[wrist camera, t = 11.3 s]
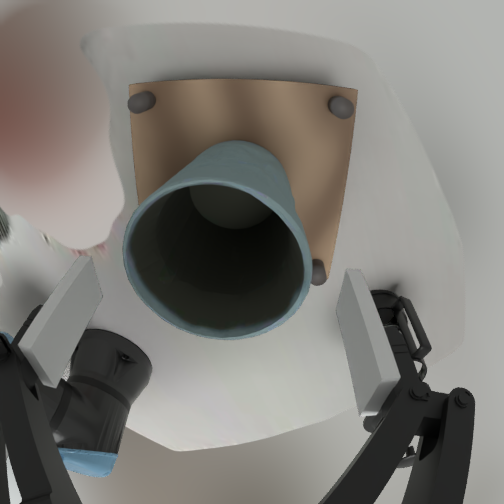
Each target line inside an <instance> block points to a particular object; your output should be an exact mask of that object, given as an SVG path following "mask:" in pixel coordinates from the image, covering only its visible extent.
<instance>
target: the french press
mask: <svg viewBox="0 0 504 504" xmlns="http://www.w3.org/2000/svg"><path fill="white" fill-rule="evenodd" d="M370 293H371V296H372V298H373V301H374V303H375V306H376V309H377V310H378V309H384V308H389V309H392V311H393V313H394V316H393V318H392V320H391V321H390V322H389V323H388V324H384V325H383V327H396V328H397V330H398V331H399V332H400V333H401V334H402V335H403V338H404V340H405V343H406V346H407V348H408V350H409V353H410V356H411V358H412V361H413V364H414V361H418V362H421V363H422V368H421V370H420V372H419V373H417V375H418V377H419V380H420V381H423V379H424V378H425V376H426V373H427V367H426V364H425V362H424V359H423V358H424V357H425V356H426V355H427V354H428V353H429V352H430V351H431V349H432V348H431V345H430V343H429V340H428V338H427V336H426V333H425V331H424V329H423V327H422V324H421V322H420V320H419V318H418V316H417V313H416V311H415V309H414V307H413V305H412V303H411V301H410V300H409V299H407V298H404V297H402V296H400V297H398V296H397V295H396V294H394V293H392V292H390V291H386V290H374V291H370ZM403 308H405V311H406V313H407V315H408V317H409V320H410V322H411V324H412V327H413V329H414V331H415V334H416V336H417V339H418V341H419V344H420V347H419V348H418V349H417V348H416V345H415V342H414V340H413V337H412V334H411V332H410V330H409V328H408V325H407V323H408V321H407V317H406V315H405V312H404V310H403ZM414 366H415V364H414ZM415 369H416V367H415ZM416 372H417V370H416ZM424 383H425V382H424ZM425 384H427V383H425ZM427 385H428V384H427ZM428 386H429V385H428ZM429 388H430V387H429ZM382 417H383V414H382V410H381V409H380V410H379V412H378V413H377V415H373V416H366V418H365V419H364V421H363V426H364V429H365V430H366V431H368V432H371V433H372V432H373V431H374V429H375V428H376V427H375V426H376V425H377V424H378V422H379V421H380V420H381V418H382ZM415 455H416V453H415V451H414V448H413V446H410V445H409V447H408V448H407V450H406V457H404V458H402V459H401V461H400V463H399V464H398V466H397V468H405V467H410V466H413V463H414V459H415Z"/></svg>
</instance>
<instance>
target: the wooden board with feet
mask: <svg viewBox="0 0 504 504" xmlns="http://www.w3.org/2000/svg"><path fill="white" fill-rule="evenodd" d="M357 94H358V90H356V89H351V88H345V87H338V86H330V85H322V84H313V83H303V82H292V81H278V80H259V79H189V80H170V81H157V82H145V83H136V84H130V85H129V100H128V108H129V110H130V118H131V133H132V146H133V157H134V168H135V177H136V186H137V195H138V203H139V205H140V204H141V203H142V202H143V201H144V200H145V199H146V198H148V197H149V196H150V195H151V194H153V193H154V192H155V191H156V190H158V189H159V188H160V187H161V186H163V185H164V184H165V183H166V182H167V181H168V180H170V179H171V178H172V177H173V176H175V175H176V174H177V173H178V172H179V171H181V170H182V169H183V168H185V167H186V166H187V165H188V164H189V163H191V162H192V161H193V160H194V159H195V158H196V157H197V156H198V155H200V154H201V153H202V152H203V151H205V150H206V149H208V148H209V147H211V146H213V145H216V144H218V143H221V142H225V141H232V140H240V141H247V142H252V143H254V144H257V145H259V146H261V147H263V148H265V149H266V150H268V151H269V152H271V153H272V154H273V155H274V156H275V157H276V158H277V159H278V160H279V162H280V163H281V164H282V166H283V168H284V170H285V172H286V175H287V177H288V180H289V183H290V187H291V191H292V196H293V197H294V200H295V210H296V213H297V215H298V217H299V218H300V220H301V222H302V225H303V228H304V231H305V235H306V238H307V241H308V244H309V249H310V253H311V257H312V272H313V273H312V280H311V283H312V284H313V285H316V286H318V285H322V284H324V283H325V282H326V280H327V279H328V277H329V273H330V268H331V263H332V258H333V253H334V248H335V243H336V238H337V233H338V227H339V222H340V216H341V211H342V205H343V199H344V193H345V187H346V180H347V174H348V167H349V160H350V153H351V146H352V138H353V130H354V122H355V113H356V104H357Z"/></svg>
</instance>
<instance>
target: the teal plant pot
mask: <svg viewBox="0 0 504 504" xmlns="http://www.w3.org/2000/svg"><path fill="white" fill-rule="evenodd" d="M123 261H124V266H125V269H126V273H127V276H128V279H129V281H130V283H131V285H132V287H133V288H134V290H135V292H136V294H137V295H138V296H139V297H140V299H141V300H142V301H143V302H144V303H145V304H146V305H147V306H148V307H149V308H150V309H151V310H152V311H153V312H155V313H156V314H157V315H158V316H159V317H160V318H161V319H163V320H164V321H166V322H168V323H170V324H171V325H173V326H175V327H176V328H178V329H180V330H183V331H185V332H188V333H190V334H194V335H197V336H201V337H205V338H211V339H221V340H236V339H244V338H249V337H254V336H257V335H260V334H263V333H266V332H268V331H270V330H272V329H274V328H276V327H278V326H280V325H282V324H283V323H284V322H285V321H286V320H288V319H289V318H290V317H291V316H292V315H294V314H295V312H296V311H297V310H298V309H299V307H300V306H301V305H302V303H303V301H304V299H305V297H306V296H307V294H308V291H309V288H310V284H311V280H312V273H313V272H312V257H311V253H310V249H309V244H308V241H307V238H306V235H305V231H304V228H303V225H302V222H301V220H300V218H299V217H298V215H297V213H296V210H295V200H294V197H293V196H292V191H291V187H290V183H289V180H288V177H287V175H286V172H285V170H284V168H283V166H282V164H281V163H280V162H279V160H278V159H277V158H276V157H275V156H274V155H273V154H272V153H271V152H269V151H268V150H266V149H265V148H263V147H261V146H259V145H257V144H254V143H252V142H247V141H240V140H232V141H225V142H221V143H218V144H216V145H213V146H211V147H209V148H208V149H206V150H205V151H203V152H202V153H201V154H200V155H198V156H197V157H196V158H195V159H194V160H193V161H192V162H191V163H189V164H188V165H187V166H186V167H185V168H183V169H182V170H181V171H179V172H178V173H177V174H176V175H175V176H173V177H172V178H171V179H170V180H168V181H167V182H166V183H165V184H164V185H163V186H161V187H160V188H159V189H158V190H156V191H155V192H154V193H153V194H151V195H150V196H149V197H148V198H146V199H145V200H144V201H143V202H142V203H141V204H140V205H139V207H138V208H137V209H136V210H135V212H134V213H133V215H132V217H131V219H130V221H129V223H128V225H127V227H126V231H125V235H124V241H123Z"/></svg>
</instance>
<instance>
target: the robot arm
mask: <svg viewBox="0 0 504 504" xmlns="http://www.w3.org/2000/svg"><path fill="white" fill-rule="evenodd" d="M102 297H103V295H102V292H101V288H100V285H99V282H98V278H97V275H96V271H95V267H94V264H93V260H92V256H79V258H78V259H77V260H76V261H75V263H74V264H73V265H72V267H71V268H70V269H69V271H68V272H67V273H66V275H65V276H64V277H63V279H62V280H61V281H60V283H59V284H58V285H57V287H56V288H55V290H54V291H53V292H52V294H51V295H50V297H49V298H48V300H47V301H46V302H45V304H44V305H39V306H38V307H37V308H35V309H34V310H33V311H32V312H31V314H30V315H29V317H28V318H27V320H26V321H25V322H24V324H23V326H22V327H21V329H20V330H19V332H18V333H17V335H16V336H15V338H13V337H11V336H10V335H9V334H8V333H6V332H2V331H0V504H10V498H9V488H8V478H7V465H6V460H7V458H8V455H9V459H10V462H11V466H12V469H13V473H14V476H15V479H16V482H17V485H18V488H19V491H20V494H21V497H22V502H21V503H20V504H82V502H81V500H80V498H79V496H78V494H77V492H76V490H75V488H74V486H73V484H72V481H71V479H70V477H69V474H68V472H67V470H70V471H73V472H76V473H80V474H84V475H88V476H93V477H106V476H108V475H109V474H110V473H111V472H112V469H113V467H114V464H115V461H116V458H117V457H118V451H119V447H120V443H121V439H122V436H123V432H124V428H125V425H126V421H127V418H128V414H129V411H130V408H131V405H132V404H133V402H134V401H135V400H136V398H137V397H138V396H139V395H140V393H141V392H142V391H143V390H144V388H145V387H146V386H147V384H148V382H149V379H150V376H151V373H152V366H151V363H150V361H149V359H148V358H147V356H146V355H145V354H144V353H143V352H142V351H141V350H140V349H139V348H138V347H137V346H135V345H134V344H133V343H131V342H130V341H128V340H126V339H125V338H123V337H121V336H118V335H116V334H114V333H111V332H107V331H103V330H86V331H84V330H85V329H86V327H87V325H88V323H89V321H90V319H91V317H92V315H93V314H94V312H95V310H96V308H97V306H98V304H99V303H100V301H101V299H102ZM336 312H337V316H338V321H339V325H340V329H341V333H342V337H343V342H344V346H345V350H346V355H347V359H348V364H349V368H350V373H351V378H352V382H353V387H354V392H355V397H356V402H357V407H358V412H359V417H362V416H373V415H377V413H378V412H379V410H380V409H381V410H382V414H383V417H382V418H381V420H380V421H379V422H378V424H377V425H376V426H375V427H376V428H375V429H374V431H373V432H372V434H371V435H370V437H369V438H368V440H367V441H366V443H365V444H364V445H363V447H362V448H361V450H360V451H359V453H358V454H357V455H356V457H355V458H354V459H353V461H352V462H351V464H350V465H349V466H348V468H347V469H346V470H345V472H344V473H343V474H342V475H341V477H340V478H339V479H338V481H337V482H336V483H335V484H334V486H333V487H332V488H331V489H330V491H329V492H328V493H327V494H326V495H325V497H324V498H323V499H322V500H321V501H320V502H319V504H373V503H374V502H375V501H376V499H377V498H378V496H379V495H380V493H381V492H382V490H383V489H384V487H385V486H386V484H387V482H388V481H389V479H390V478H391V476H392V474H393V473H394V471H395V469H396V468H397V466H398V464H399V463H400V461H401V459H402V457H403V456H404V454H405V452H406V450H407V448H408V447H409V445H410V443H411V441H412V439H413V437H414V435H417V436H420V438H419V442H418V447H417V451H416V455H415V459H414V463H413V467H412V471H411V475H410V478H409V481H408V485H407V489H406V492H405V495H404V498H403V501H402V504H463V499H464V494H465V489H466V484H467V478H468V472H469V465H470V458H471V450H472V440H473V430H474V415H475V400H474V397H473V395H472V393H470V392H469V391H468V390H467V389H465V388H459V387H458V388H455V389H453V390H452V391H451V392H450V394H445V393H439V392H434V391H431V389H430V388H429V386H428V385H427V384H425V383H424V382H422V381H420V380H419V377H418V375H417V372H416V369H415V366H414V364H413V361H412V358H411V356H410V353H409V350H408V348H407V346H406V343H405V340H404V338H403V335H402V334H401V333H400V332H399V331H398V330H397V328H396V327H383V324H382V322H381V319H380V316H379V314H378V311H377V309H376V306H375V303H374V301H373V298H372V296H371V293H370V291H369V288H368V286H367V283H366V281H365V278H364V276H363V273H362V271H361V269H346V272H345V277H344V281H343V285H342V289H341V293H340V297H339V300H338V304H337V308H336ZM70 358H71V364H70V374H69V378H68V380H67V382H66V381H65V380H64V379H62V378H61V377H62V375H63V373H64V370H65V368H66V366H67V364H68V362H69V360H70ZM66 469H67V470H66Z"/></svg>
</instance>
